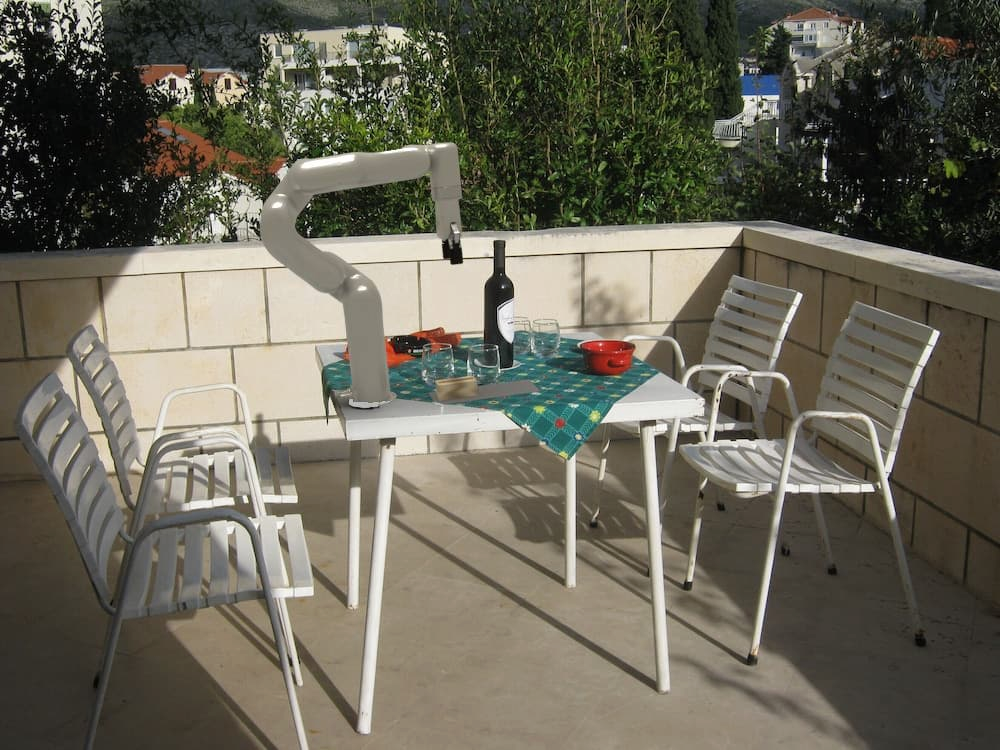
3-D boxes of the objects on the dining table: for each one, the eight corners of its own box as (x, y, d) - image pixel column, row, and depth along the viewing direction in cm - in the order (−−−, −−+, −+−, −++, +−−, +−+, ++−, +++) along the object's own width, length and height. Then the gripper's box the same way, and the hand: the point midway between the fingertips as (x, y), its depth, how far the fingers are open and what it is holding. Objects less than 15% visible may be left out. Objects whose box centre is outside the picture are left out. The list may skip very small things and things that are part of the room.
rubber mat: (436, 407, 268) (436, 405, 268) (428, 394, 279) (428, 392, 279) (540, 393, 273) (540, 391, 273) (528, 381, 285) (528, 379, 285)
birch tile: (439, 400, 272) (438, 385, 270) (436, 395, 276) (434, 380, 275) (478, 395, 274) (476, 379, 272) (474, 390, 278) (473, 375, 277)
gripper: (425, 192, 275) (432, 258, 280) (438, 198, 259) (444, 268, 263) (454, 189, 277) (460, 254, 281) (468, 194, 260) (474, 264, 265)
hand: (453, 261), depth 272 cm, fingers open, 9 cm apart
